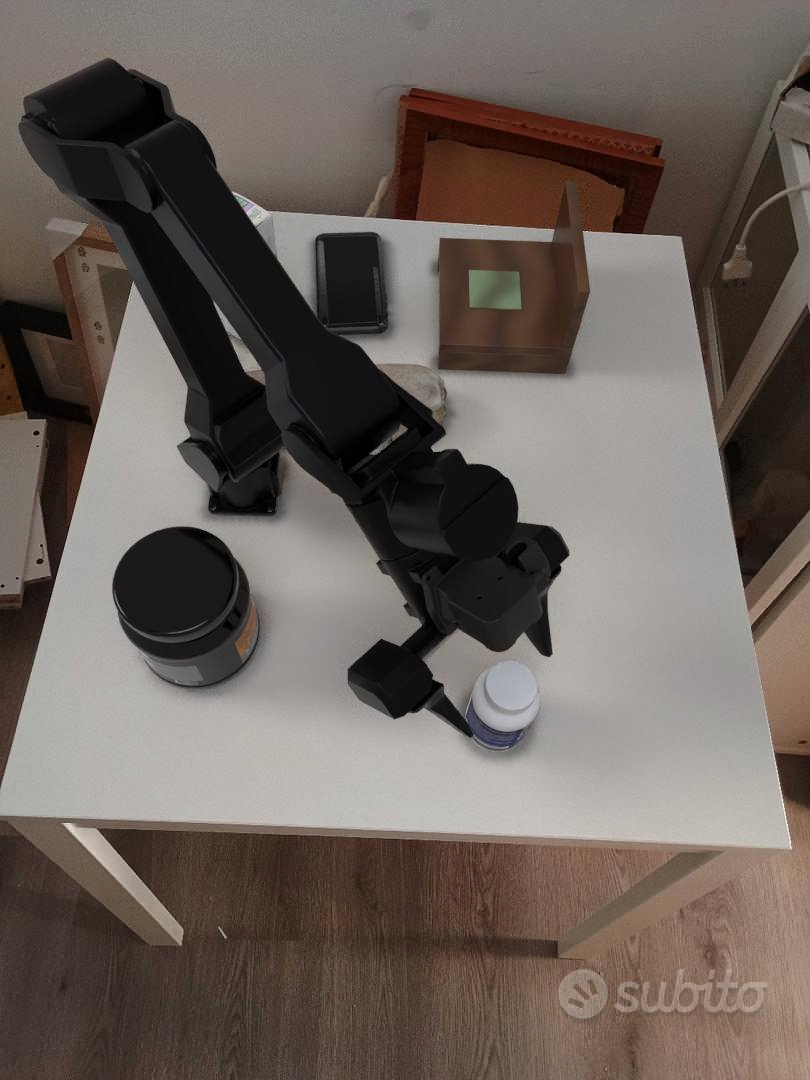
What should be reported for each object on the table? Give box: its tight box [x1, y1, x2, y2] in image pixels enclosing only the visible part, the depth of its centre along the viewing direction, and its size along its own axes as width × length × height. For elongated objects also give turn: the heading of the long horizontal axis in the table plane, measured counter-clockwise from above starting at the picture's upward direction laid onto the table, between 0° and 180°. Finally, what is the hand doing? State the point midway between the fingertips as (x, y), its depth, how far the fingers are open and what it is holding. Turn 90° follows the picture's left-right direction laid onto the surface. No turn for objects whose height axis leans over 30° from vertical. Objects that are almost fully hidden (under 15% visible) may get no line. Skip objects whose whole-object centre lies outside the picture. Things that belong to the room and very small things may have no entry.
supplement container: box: [111, 525, 261, 691], centre depth 69 cm, size 10×10×12 cm
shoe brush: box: [245, 363, 448, 442], centre depth 84 cm, size 24×8×5 cm, turn 95°
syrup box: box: [212, 191, 278, 341], centre depth 86 cm, size 6×6×14 cm
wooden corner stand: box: [437, 180, 591, 375], centre depth 89 cm, size 14×16×12 cm
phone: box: [314, 231, 389, 336], centre depth 95 cm, size 8×1×15 cm
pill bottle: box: [464, 659, 541, 753], centre depth 67 cm, size 5×5×10 cm
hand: (509, 694), depth 64 cm, fingers open, 9 cm apart
